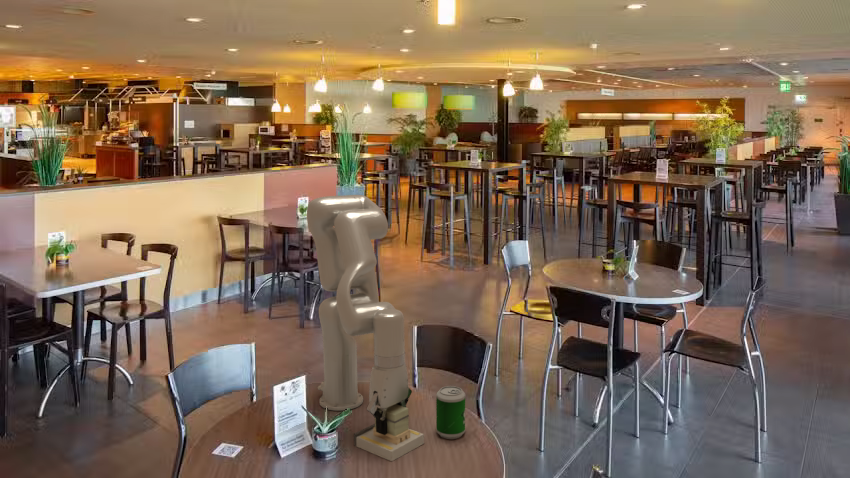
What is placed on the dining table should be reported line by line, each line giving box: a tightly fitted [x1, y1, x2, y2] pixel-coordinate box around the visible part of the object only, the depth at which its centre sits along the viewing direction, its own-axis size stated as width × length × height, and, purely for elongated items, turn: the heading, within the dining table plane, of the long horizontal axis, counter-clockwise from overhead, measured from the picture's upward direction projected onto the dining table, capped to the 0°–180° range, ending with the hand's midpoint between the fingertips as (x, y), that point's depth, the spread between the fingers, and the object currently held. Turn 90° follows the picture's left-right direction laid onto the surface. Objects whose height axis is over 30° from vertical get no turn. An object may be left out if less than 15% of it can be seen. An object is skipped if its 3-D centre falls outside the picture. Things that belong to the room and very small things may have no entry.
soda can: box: [435, 385, 466, 440], centre depth 174 cm, size 8×8×12 cm
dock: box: [353, 423, 425, 462], centre depth 169 cm, size 13×12×3 cm
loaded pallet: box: [373, 404, 410, 444], centre depth 167 cm, size 8×5×8 cm, turn 50°
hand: (390, 428), depth 168 cm, fingers open, 5 cm apart
